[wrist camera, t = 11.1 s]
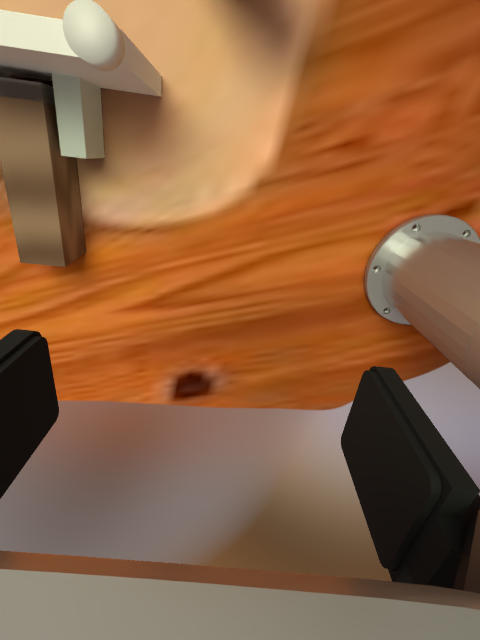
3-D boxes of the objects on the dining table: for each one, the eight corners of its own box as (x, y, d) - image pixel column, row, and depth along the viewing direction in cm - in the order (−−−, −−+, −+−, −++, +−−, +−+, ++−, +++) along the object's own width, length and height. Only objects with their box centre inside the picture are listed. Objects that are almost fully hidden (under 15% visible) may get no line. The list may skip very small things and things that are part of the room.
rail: (22, 86, 28) (-17, 74, 24) (70, 93, 29) (40, 82, 24) (47, 248, 35) (20, 262, 30) (86, 252, 35) (65, 266, 30)
